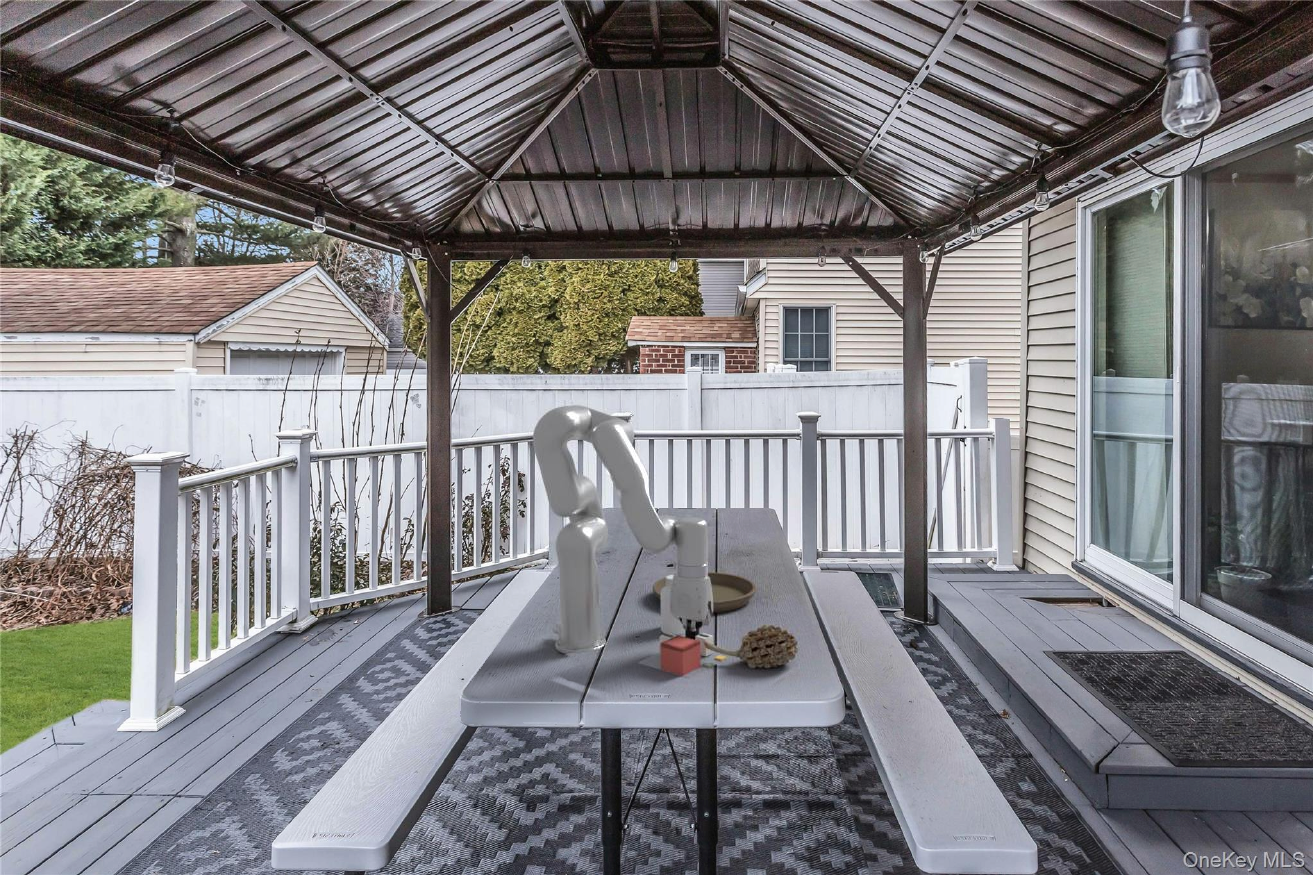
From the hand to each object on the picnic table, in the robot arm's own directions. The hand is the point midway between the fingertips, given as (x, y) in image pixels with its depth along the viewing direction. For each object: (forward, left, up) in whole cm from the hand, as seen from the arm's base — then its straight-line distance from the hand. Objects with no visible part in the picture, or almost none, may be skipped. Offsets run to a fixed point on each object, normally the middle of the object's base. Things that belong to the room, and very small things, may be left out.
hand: (692, 645), depth 183 cm
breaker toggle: (+4, 0, -2) cm, 4 cm away
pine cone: (+15, +1, -3) cm, 16 cm away
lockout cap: (+4, -10, -1) cm, 11 cm away
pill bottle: (-13, +10, -3) cm, 16 cm away
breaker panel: (+2, -5, -2) cm, 6 cm away
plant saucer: (-25, +39, -3) cm, 46 cm away
